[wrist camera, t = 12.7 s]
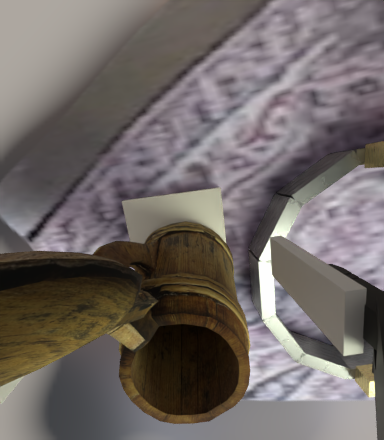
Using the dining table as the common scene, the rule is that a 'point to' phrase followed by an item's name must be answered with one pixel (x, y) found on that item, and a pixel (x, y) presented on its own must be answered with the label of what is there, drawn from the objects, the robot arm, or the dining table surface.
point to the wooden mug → (135, 318)
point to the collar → (279, 226)
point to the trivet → (174, 212)
